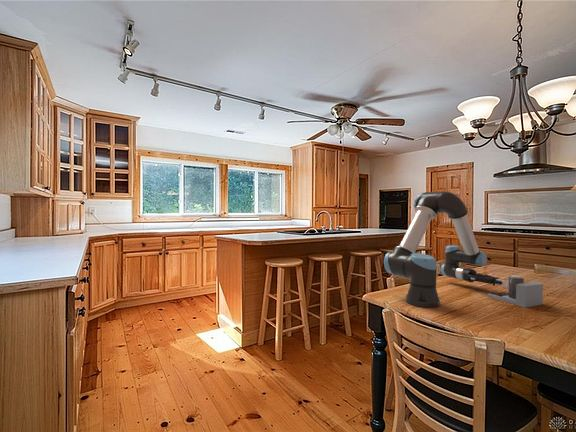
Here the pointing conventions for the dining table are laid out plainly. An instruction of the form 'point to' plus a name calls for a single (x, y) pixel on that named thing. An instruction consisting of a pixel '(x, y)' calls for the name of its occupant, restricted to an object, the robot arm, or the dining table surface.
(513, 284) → the knob
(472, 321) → the dining table surface
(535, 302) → the mount
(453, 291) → the dining table surface
